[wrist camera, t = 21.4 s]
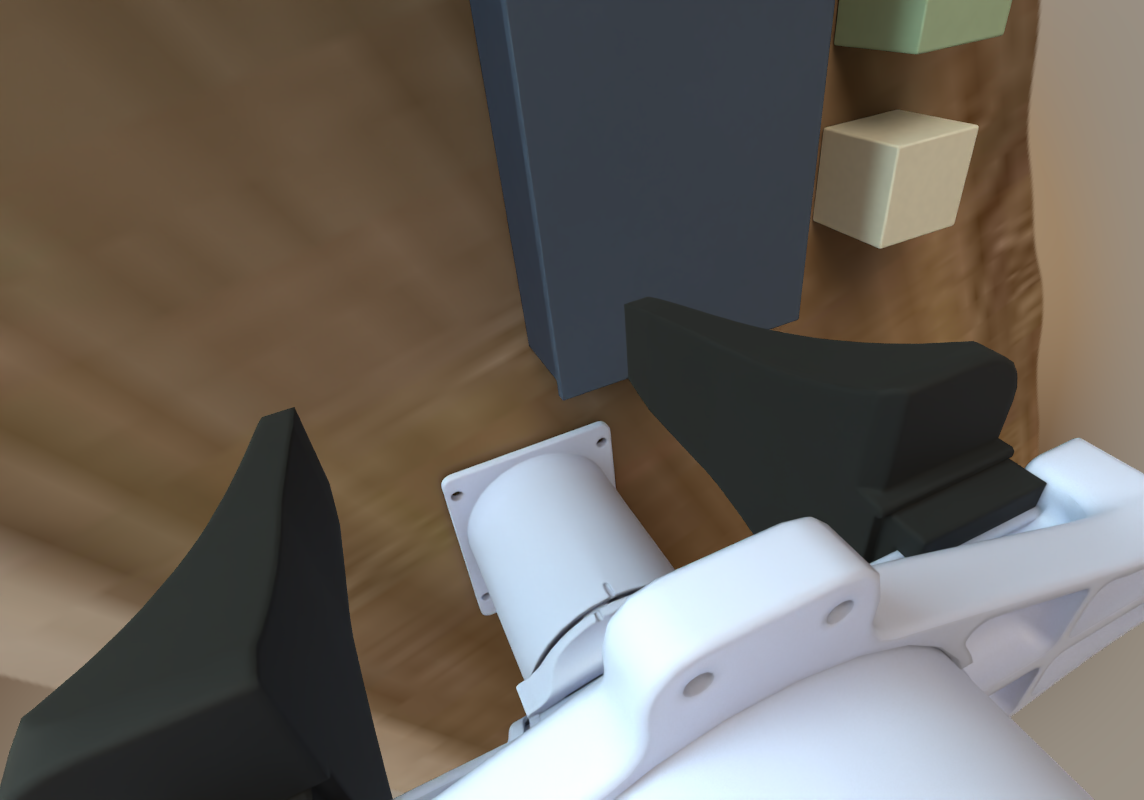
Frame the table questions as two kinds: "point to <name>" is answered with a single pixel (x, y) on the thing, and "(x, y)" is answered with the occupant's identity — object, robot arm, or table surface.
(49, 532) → the table surface
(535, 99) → the storage box
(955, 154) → the cream box
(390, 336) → the table surface
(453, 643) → the table surface
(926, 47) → the sage box
